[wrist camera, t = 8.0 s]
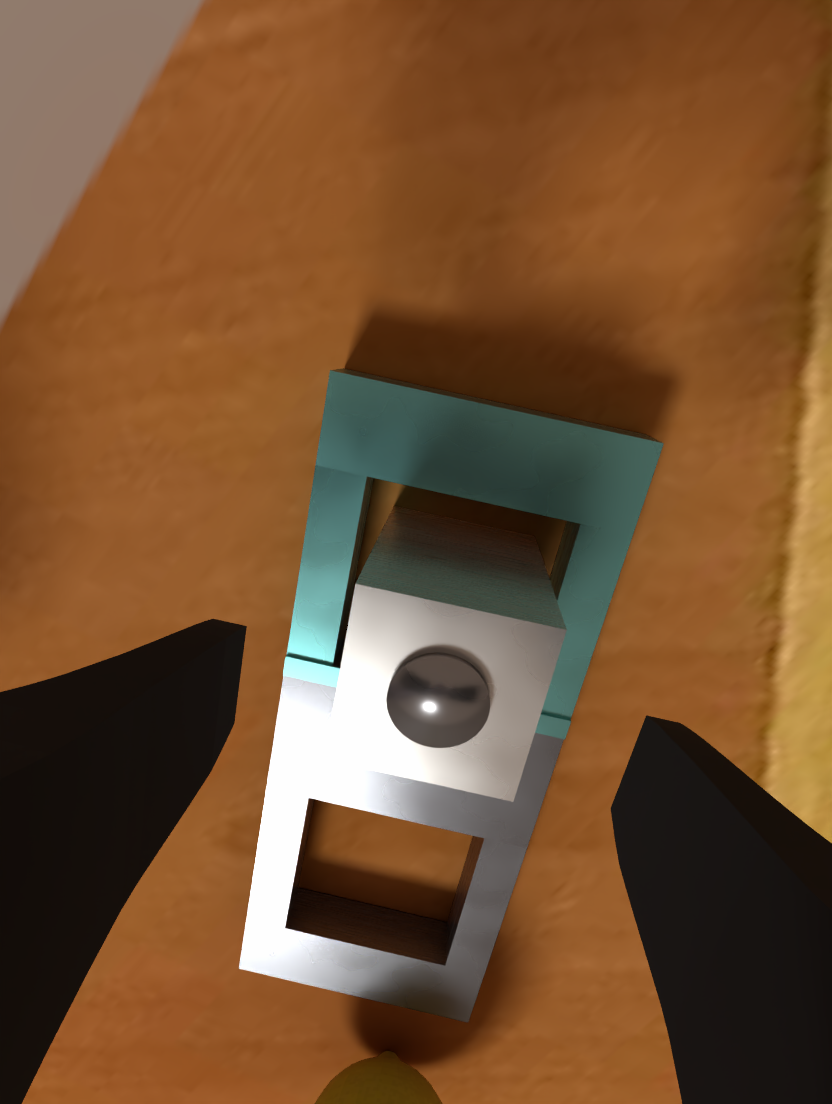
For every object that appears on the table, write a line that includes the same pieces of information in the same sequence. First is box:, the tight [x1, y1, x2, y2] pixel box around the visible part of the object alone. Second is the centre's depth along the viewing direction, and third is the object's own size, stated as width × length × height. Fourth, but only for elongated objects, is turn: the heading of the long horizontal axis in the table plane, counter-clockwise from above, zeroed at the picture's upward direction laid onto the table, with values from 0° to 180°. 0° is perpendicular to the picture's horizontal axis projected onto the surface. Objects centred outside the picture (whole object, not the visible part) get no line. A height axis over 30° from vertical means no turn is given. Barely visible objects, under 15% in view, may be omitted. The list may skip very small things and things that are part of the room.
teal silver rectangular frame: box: [239, 368, 664, 1022], centre depth 18 cm, size 8×20×2 cm, turn 168°
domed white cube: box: [324, 506, 567, 802], centre depth 15 cm, size 4×4×6 cm
